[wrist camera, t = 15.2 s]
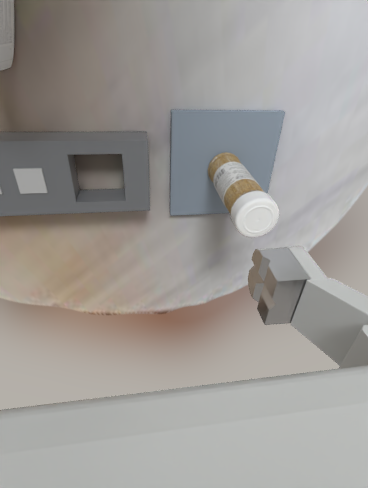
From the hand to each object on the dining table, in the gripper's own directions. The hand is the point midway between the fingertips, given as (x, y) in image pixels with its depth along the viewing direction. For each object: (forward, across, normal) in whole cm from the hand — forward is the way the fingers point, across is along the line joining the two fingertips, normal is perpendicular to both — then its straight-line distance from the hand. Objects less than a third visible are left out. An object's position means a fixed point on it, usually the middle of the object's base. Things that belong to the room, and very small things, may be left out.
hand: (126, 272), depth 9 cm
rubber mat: (+31, -12, +9) cm, 35 cm away
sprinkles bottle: (+30, -12, +9) cm, 34 cm away
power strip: (+31, +10, +9) cm, 34 cm away
